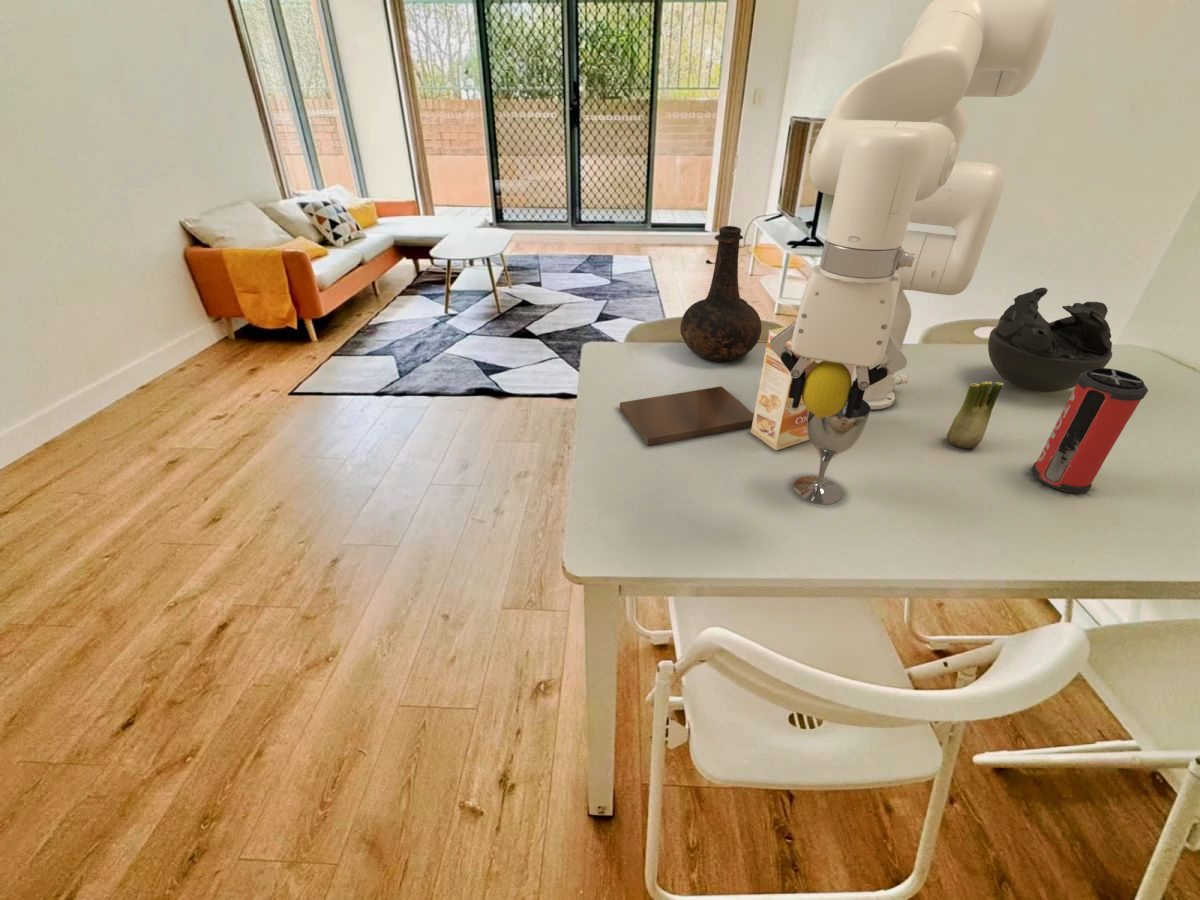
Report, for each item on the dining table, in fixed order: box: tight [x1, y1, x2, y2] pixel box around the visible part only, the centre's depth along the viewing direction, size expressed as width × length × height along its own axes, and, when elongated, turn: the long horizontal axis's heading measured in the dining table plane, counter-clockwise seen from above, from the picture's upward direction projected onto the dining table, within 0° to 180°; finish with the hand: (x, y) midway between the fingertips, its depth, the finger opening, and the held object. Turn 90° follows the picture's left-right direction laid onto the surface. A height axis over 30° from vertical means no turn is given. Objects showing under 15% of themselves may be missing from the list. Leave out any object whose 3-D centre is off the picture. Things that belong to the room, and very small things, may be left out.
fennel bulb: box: [946, 381, 1004, 449], centre depth 94 cm, size 6×5×12 cm
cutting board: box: [619, 385, 754, 447], centre depth 105 cm, size 22×14×2 cm, turn 109°
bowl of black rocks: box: [987, 287, 1113, 393], centre depth 111 cm, size 20×20×19 cm
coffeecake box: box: [750, 325, 855, 451], centre depth 96 cm, size 15×7×20 cm, turn 117°
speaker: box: [1031, 367, 1149, 494], centre depth 84 cm, size 8×8×18 cm
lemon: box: [802, 361, 852, 418], centre depth 68 cm, size 6×6×8 cm
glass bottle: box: [679, 225, 763, 362], centre depth 123 cm, size 18×18×28 cm
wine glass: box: [792, 399, 871, 505], centre depth 82 cm, size 8×8×15 cm
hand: (822, 407), depth 70 cm, fingers closed on lemon, 5 cm apart
